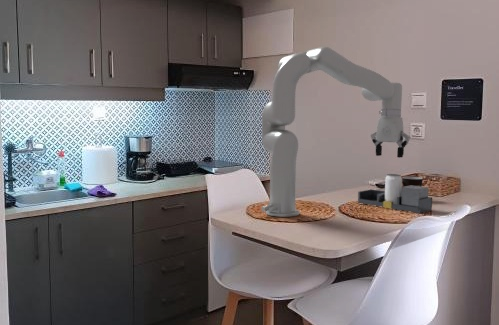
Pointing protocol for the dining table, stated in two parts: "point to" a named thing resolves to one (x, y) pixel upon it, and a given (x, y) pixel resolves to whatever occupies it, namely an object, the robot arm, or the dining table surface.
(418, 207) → the rack
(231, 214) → the dining table surface
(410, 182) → the coffee mug
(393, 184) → the can
